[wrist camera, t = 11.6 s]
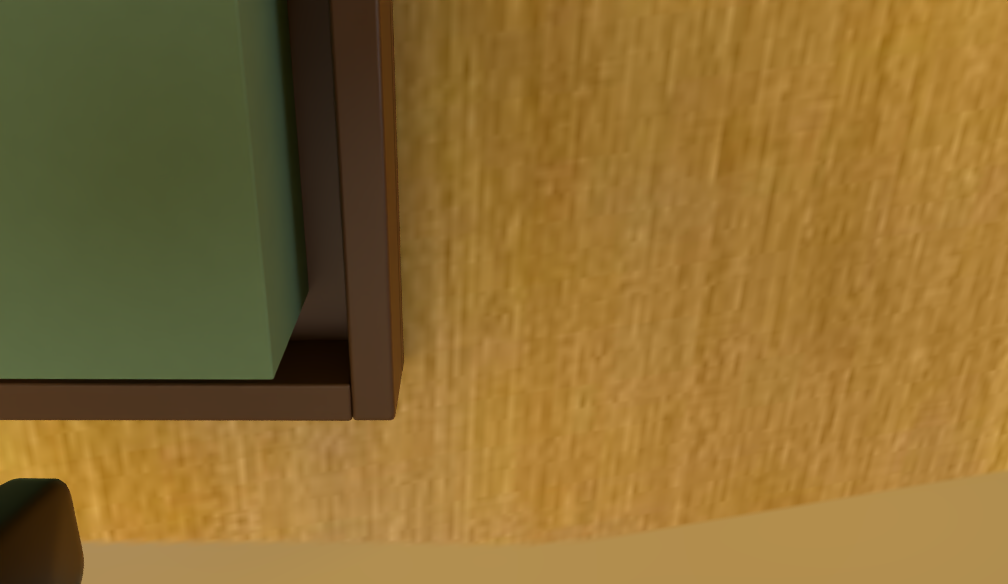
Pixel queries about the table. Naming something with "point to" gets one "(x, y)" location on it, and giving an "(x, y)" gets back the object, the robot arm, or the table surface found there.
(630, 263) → the table surface
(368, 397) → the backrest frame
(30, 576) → the robot arm
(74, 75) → the green block
